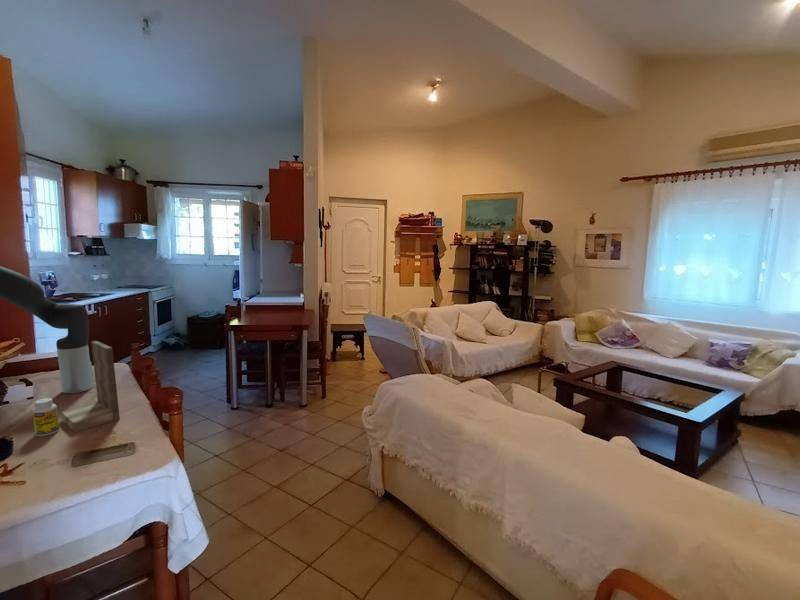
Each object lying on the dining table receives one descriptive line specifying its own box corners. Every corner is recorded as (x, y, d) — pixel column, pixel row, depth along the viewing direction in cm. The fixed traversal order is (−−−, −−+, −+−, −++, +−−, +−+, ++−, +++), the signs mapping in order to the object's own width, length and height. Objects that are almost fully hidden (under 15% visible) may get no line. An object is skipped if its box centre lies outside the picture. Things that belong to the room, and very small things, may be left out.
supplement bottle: (33, 438, 117) (28, 405, 115) (37, 431, 121) (32, 399, 120) (58, 434, 120) (54, 401, 118) (61, 426, 124) (57, 395, 123)
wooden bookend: (61, 420, 129) (52, 348, 125) (104, 408, 138) (96, 340, 134) (75, 433, 120) (66, 356, 117) (119, 419, 129) (112, 347, 126)
